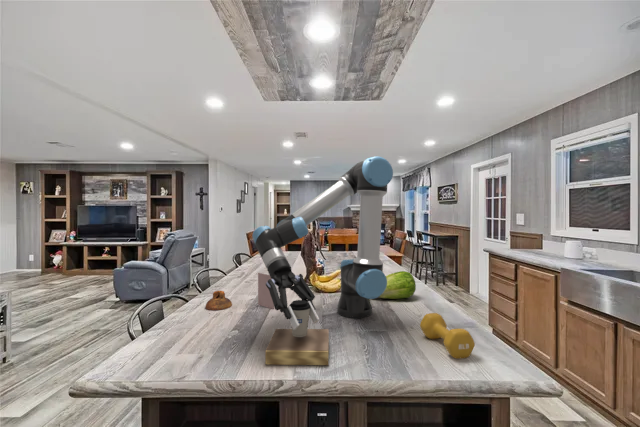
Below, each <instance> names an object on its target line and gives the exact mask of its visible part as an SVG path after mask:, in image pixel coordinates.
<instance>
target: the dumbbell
mask: <svg viewBox="0 0 640 427" xmlns="http://www.w3.org/2000/svg"><path fill="white" fill-rule="evenodd" d="M447 327H448V326H447V323H446V321H445V319H444V317H443V316H442V315H441V314H440V313H438V312H431V313H426V314H425V315H424V316H423V317H422V319H421V321H420V324H419V328H420V329H421V331H422V333H423V335H424V336H425V337H426V338H427V339H431V340H435V339H442V340H443V345H444V347H445V349H446V351H447V353H448V354H449V355H450V357H452V358H454V359H456V360H457V359H458V360H459V359H460V360H461V359H467V358H469V357H470V356H471V355H472V353H473V351H474V349H475V348H474V347H475V343H476V342H475V340H474V339H473V337H472V335H471V333H470V332H469V331H468V330H467V329H464V328H452V329H448V328H447Z"/></svg>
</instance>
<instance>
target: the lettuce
mask: <svg viewBox="0 0 640 427" xmlns="http://www.w3.org/2000/svg"><path fill="white" fill-rule="evenodd" d="M385 276H386V279H387V286H386V289H385V291H384V292H383V294H381V295H380V296H379V297H378V298H380V299H388V300H389V299H390V300H399V299H409V298H410V297H411V296H413V295H414V294H415V292H416V290H417V289H416V288H417V287H416V286H417V285H416V281H415V278H414V276H413V274H412V273H410V271H405V270H402V271H401V270H400V271H396V272H393V273H392V272H391V273H389V274H387V275H385Z"/></svg>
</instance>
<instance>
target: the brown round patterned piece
mask: <svg viewBox="0 0 640 427" xmlns="http://www.w3.org/2000/svg"><path fill="white" fill-rule="evenodd" d="M232 305H233V303H232V301H231V299H230V298H228V297H226V293H225V291H224V290H215V291H214V292H212V298H210V299H208V300H207V302H206V304H205V306H204V307H205V309H206V310H207V311H213V312H215V311H223V310H228V309H230V308H231V307H232Z"/></svg>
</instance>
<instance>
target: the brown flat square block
mask: <svg viewBox="0 0 640 427" xmlns="http://www.w3.org/2000/svg"><path fill="white" fill-rule="evenodd" d="M329 332H330V330H329V328H308V330H307V335H306V336H304V337H295V336H293V335H292V328H275V329H274V331H273V334H272V336H271V338H270V341H269V342H268V345H267V347H266V348H265V354H264V355H265V356H264V358H265V365H270V366H271V365H273V366H274V365H276V366H277V365H280V366H281V365H283V366H284V365H285V366H286V365H287V366H291V365H292V366H329V356H330V355H329V354H330V353H329V346H330V345H329V344H330V341H329V339H330V337H329V336H330V333H329Z"/></svg>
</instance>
